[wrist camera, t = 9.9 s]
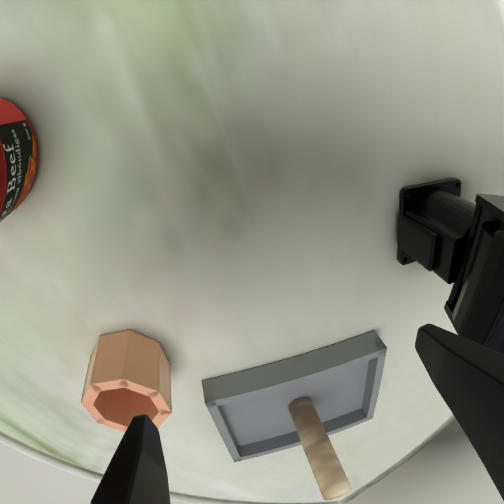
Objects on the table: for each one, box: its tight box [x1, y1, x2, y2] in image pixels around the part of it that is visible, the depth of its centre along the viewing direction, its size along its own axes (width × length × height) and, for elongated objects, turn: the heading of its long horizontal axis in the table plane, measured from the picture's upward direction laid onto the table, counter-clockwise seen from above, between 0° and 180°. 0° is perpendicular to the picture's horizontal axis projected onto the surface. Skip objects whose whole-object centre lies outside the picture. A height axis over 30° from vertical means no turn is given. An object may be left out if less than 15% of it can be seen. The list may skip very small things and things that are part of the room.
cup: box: [81, 329, 172, 432], centre depth 21 cm, size 6×6×5 cm
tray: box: [202, 330, 387, 462], centre depth 29 cm, size 16×12×2 cm
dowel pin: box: [288, 396, 352, 500], centre depth 24 cm, size 2×2×10 cm
